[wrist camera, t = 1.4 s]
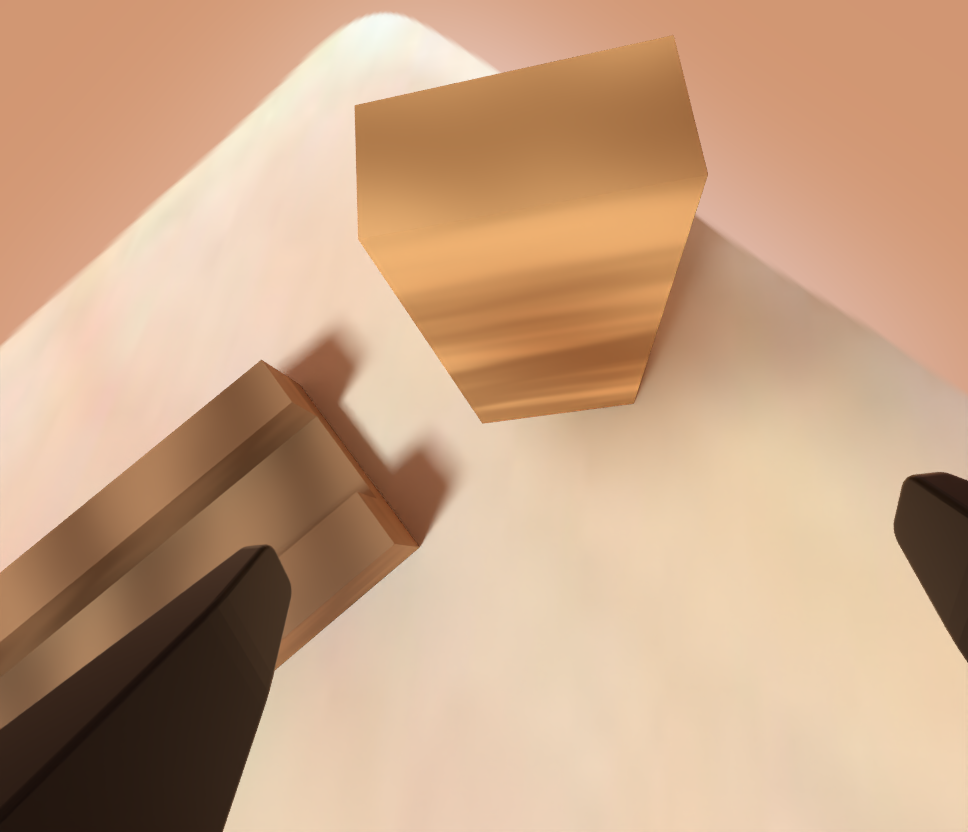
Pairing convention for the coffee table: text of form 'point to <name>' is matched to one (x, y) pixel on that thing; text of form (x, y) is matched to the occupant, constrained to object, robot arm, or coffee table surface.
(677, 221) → the oak stave
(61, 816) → the robot arm
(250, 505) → the walnut rail
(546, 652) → the coffee table surface
